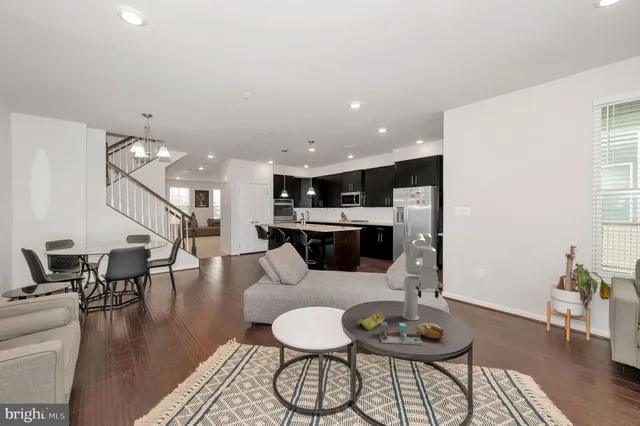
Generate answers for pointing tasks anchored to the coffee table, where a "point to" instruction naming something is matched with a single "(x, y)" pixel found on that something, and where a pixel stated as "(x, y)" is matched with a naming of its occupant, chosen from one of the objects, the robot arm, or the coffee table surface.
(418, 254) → the robot arm
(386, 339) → the bolt plate
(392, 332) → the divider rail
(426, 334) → the nautilus
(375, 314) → the plastic component
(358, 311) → the coffee table surface
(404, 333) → the block
